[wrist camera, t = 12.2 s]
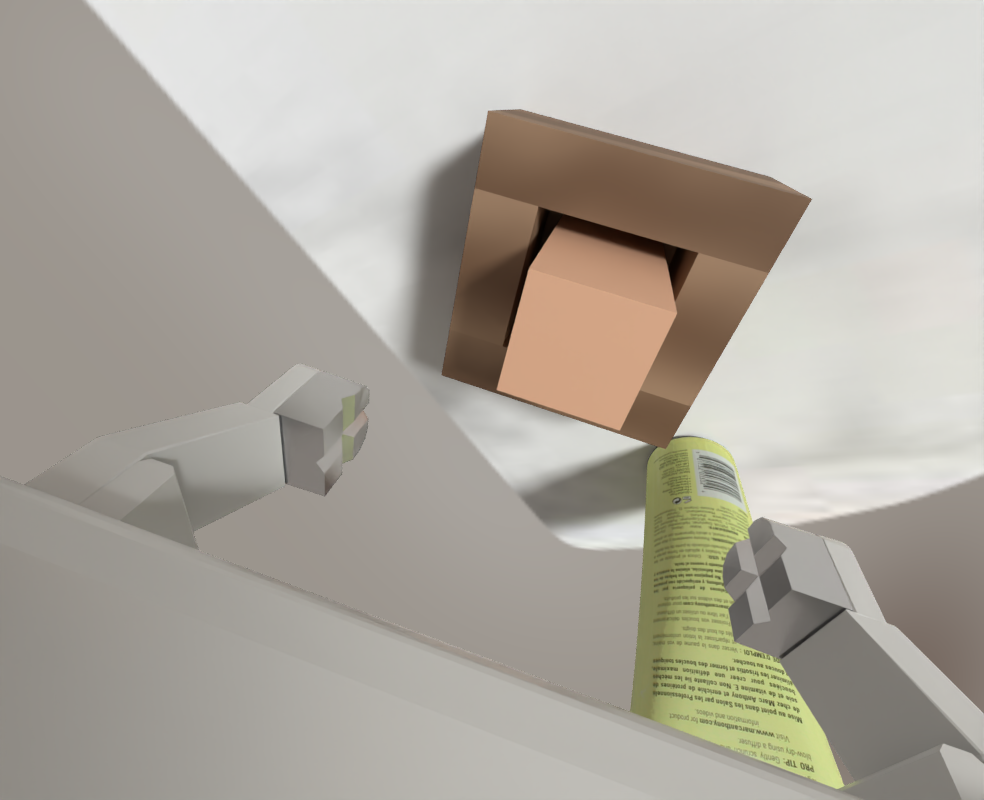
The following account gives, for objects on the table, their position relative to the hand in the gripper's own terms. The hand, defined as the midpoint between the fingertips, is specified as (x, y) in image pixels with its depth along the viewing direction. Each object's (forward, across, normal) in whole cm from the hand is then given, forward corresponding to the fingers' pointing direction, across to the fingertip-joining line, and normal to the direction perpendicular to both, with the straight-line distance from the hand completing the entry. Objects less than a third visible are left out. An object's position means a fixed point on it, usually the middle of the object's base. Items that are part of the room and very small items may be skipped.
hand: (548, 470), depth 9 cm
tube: (+16, -9, +11) cm, 22 cm away
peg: (+15, 0, +1) cm, 15 cm away
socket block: (+16, 0, +1) cm, 16 cm away
